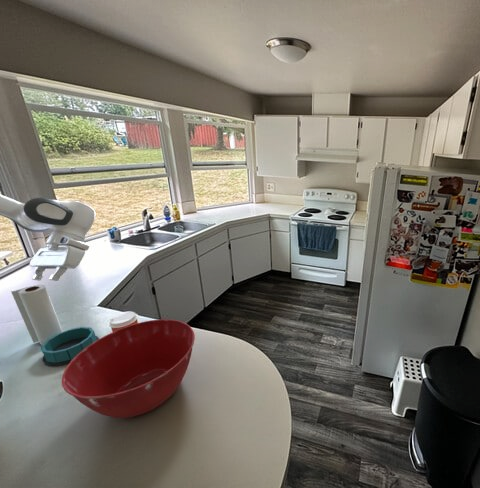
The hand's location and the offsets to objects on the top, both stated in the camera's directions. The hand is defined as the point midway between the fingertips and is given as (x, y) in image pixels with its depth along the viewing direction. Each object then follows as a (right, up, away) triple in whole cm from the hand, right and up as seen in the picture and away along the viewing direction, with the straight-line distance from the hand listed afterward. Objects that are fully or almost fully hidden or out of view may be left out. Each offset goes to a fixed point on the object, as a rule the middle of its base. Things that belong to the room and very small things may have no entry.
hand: (44, 280), depth 85 cm
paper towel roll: (-4, -23, +6) cm, 24 cm away
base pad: (+8, -25, +1) cm, 26 cm away
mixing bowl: (+44, -31, -12) cm, 55 cm away
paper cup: (+28, -25, +2) cm, 38 cm away
